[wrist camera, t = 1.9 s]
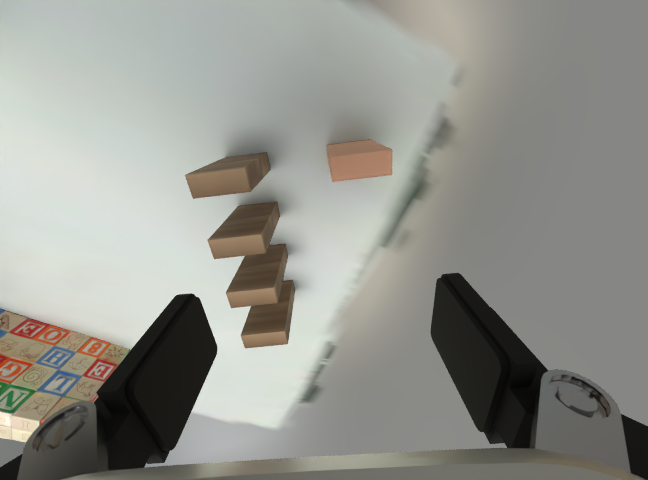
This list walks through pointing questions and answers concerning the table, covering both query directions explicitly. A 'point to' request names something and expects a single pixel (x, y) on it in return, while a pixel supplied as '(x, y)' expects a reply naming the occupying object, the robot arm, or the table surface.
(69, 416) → the robot arm
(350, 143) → the end domino
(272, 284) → the domino
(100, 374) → the stack of blocks
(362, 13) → the table surface
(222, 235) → the domino
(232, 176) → the domino
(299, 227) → the table surface
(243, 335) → the domino
